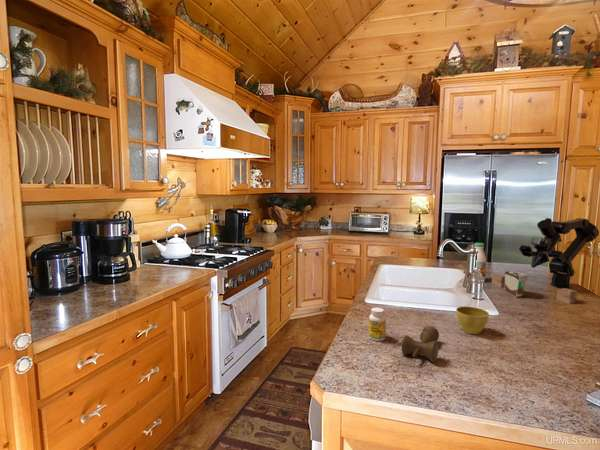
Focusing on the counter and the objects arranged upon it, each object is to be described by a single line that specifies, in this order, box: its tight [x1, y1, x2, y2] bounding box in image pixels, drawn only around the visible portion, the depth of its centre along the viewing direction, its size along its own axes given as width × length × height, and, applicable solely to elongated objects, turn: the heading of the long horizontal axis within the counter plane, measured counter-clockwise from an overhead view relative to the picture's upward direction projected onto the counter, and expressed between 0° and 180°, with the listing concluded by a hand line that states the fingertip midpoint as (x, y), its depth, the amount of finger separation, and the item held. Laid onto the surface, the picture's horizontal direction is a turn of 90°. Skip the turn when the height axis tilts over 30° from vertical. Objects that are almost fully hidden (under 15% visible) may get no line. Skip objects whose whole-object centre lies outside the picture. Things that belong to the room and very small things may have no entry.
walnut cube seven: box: [556, 288, 578, 305], centre depth 152 cm, size 5×5×5 cm
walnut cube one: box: [491, 273, 505, 288], centre depth 176 cm, size 5×5×5 cm
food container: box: [503, 270, 528, 299], centre depth 161 cm, size 12×6×10 cm, turn 179°
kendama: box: [400, 325, 440, 364], centre depth 105 cm, size 6×10×20 cm
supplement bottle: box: [368, 307, 387, 342], centre depth 114 cm, size 5×5×10 cm
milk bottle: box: [473, 242, 487, 282], centre depth 184 cm, size 8×8×20 cm
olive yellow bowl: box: [455, 306, 490, 335], centre depth 120 cm, size 10×10×7 cm
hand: (532, 266), depth 164 cm, fingers closed
